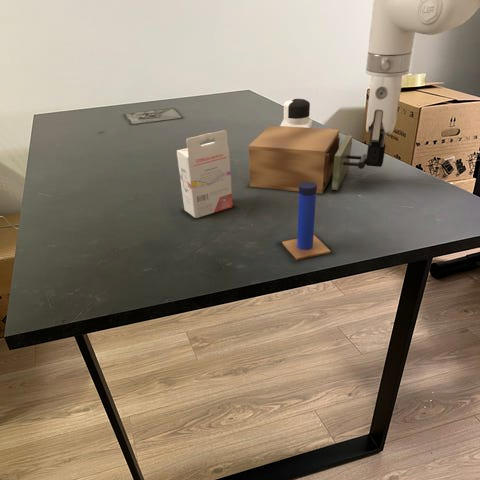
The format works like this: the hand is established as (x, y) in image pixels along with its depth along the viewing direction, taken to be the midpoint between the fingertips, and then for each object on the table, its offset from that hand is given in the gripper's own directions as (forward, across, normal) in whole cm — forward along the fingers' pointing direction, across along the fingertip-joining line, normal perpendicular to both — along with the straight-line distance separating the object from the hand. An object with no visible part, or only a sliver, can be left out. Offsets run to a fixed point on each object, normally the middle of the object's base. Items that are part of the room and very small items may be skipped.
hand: (374, 164), depth 95 cm
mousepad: (+4, +35, +76) cm, 83 cm away
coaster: (+4, -30, +6) cm, 31 cm away
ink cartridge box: (+4, -20, +29) cm, 35 cm away
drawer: (+3, 0, +11) cm, 11 cm away
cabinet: (+4, 0, +17) cm, 17 cm away
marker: (+4, -30, +7) cm, 31 cm away
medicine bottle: (+4, +16, +21) cm, 26 cm away
